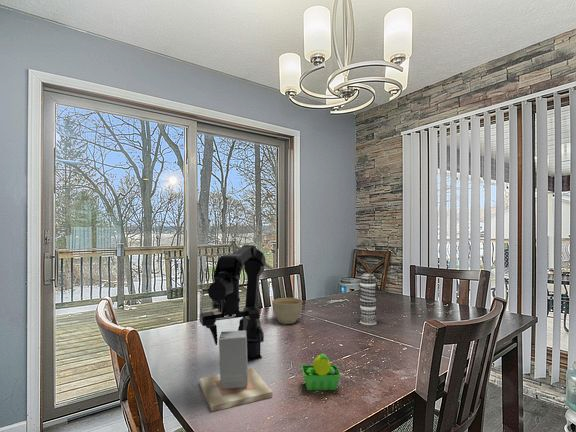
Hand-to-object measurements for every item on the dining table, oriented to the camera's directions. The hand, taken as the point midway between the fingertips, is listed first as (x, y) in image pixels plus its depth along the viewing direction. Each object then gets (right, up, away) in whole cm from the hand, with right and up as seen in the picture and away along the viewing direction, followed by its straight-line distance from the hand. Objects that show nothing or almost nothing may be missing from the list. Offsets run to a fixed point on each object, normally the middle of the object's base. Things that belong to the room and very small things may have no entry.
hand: (230, 342), depth 107 cm
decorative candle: (+60, -15, +64) cm, 89 cm away
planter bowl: (+18, -15, +66) cm, 71 cm away
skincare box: (+2, -11, -5) cm, 13 cm away
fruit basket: (+29, -13, -4) cm, 32 cm away
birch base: (+2, -13, -5) cm, 14 cm away
